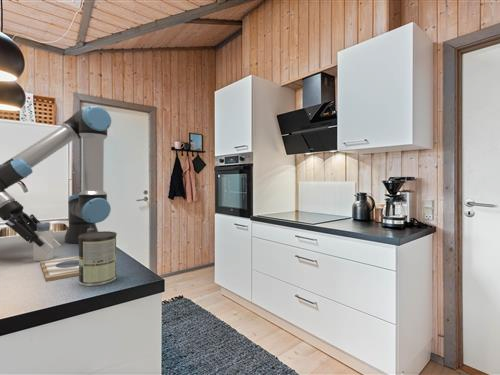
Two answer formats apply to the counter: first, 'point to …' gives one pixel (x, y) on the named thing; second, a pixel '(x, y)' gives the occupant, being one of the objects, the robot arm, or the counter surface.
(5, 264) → the counter surface
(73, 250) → the counter surface
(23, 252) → the counter surface
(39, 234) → the dome-capped white pillar
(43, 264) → the picture frame
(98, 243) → the coffee can
